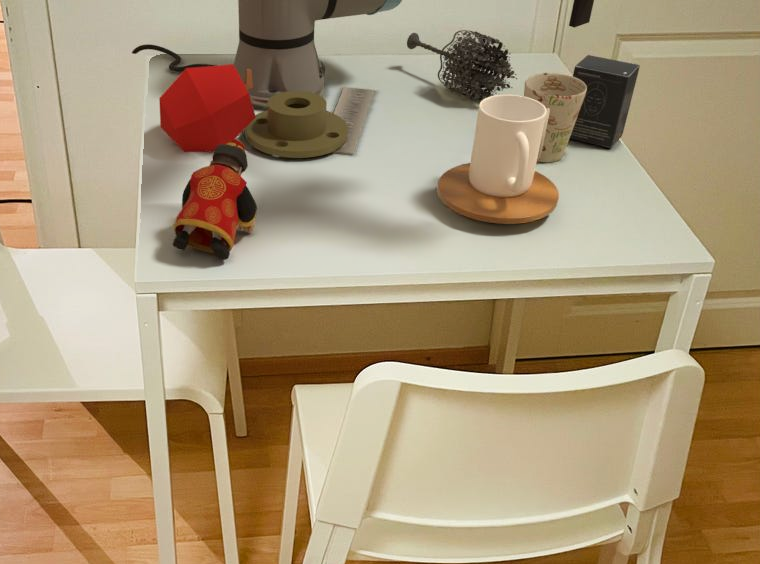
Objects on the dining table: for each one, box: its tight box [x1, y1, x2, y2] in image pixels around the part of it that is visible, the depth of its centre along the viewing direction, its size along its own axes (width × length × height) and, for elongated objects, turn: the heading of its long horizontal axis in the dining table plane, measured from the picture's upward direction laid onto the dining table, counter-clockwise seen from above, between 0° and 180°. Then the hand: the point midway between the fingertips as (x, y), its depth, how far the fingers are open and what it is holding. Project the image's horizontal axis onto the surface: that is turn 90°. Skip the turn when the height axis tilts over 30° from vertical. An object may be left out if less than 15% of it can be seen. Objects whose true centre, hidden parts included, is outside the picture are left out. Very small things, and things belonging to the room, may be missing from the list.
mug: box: [523, 72, 587, 163], centre depth 131 cm, size 8×13×10 cm, turn 163°
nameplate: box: [329, 87, 375, 156], centre depth 143 cm, size 23×1×5 cm
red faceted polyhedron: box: [158, 63, 256, 153], centre depth 134 cm, size 12×12×15 cm
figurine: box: [172, 138, 258, 260], centre depth 115 cm, size 10×10×15 cm
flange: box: [244, 91, 348, 159], centre depth 136 cm, size 5×15×15 cm
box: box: [569, 54, 641, 149], centre depth 136 cm, size 8×6×11 cm
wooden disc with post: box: [436, 162, 560, 225], centre depth 120 cm, size 16×16×10 cm
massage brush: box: [406, 29, 518, 102], centre depth 149 cm, size 9×22×9 cm
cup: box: [469, 94, 547, 197], centre depth 119 cm, size 8×12×10 cm
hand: (529, 8), depth 107 cm, fingers open, 13 cm apart
